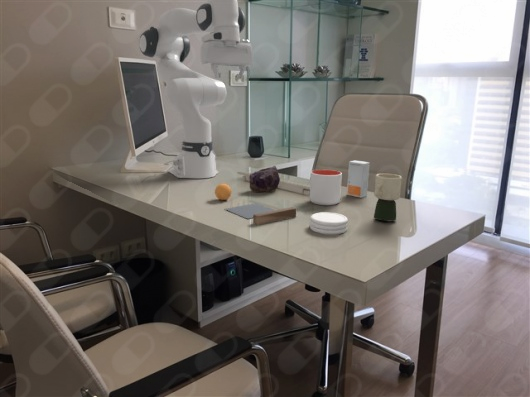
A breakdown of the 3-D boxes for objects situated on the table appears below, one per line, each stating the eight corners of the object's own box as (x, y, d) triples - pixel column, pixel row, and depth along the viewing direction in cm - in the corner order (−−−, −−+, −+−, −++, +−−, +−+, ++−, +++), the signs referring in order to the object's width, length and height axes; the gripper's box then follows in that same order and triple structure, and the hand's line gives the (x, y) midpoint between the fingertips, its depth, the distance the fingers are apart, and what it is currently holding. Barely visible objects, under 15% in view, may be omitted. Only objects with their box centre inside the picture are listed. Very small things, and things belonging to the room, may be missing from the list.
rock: (247, 193, 160) (264, 198, 152) (244, 170, 157) (260, 174, 149) (272, 184, 166) (289, 189, 158) (270, 162, 163) (287, 166, 156)
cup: (322, 196, 152) (323, 168, 149) (346, 202, 145) (348, 172, 142) (303, 201, 145) (304, 172, 142) (327, 208, 138) (329, 176, 135)
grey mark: (224, 209, 134) (224, 208, 134) (256, 203, 141) (256, 203, 141) (247, 219, 125) (247, 218, 125) (280, 212, 132) (280, 211, 132)
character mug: (384, 213, 133) (388, 171, 129) (405, 219, 128) (410, 175, 124) (363, 220, 126) (366, 176, 122) (384, 226, 120) (389, 180, 117)
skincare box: (346, 195, 155) (348, 161, 152) (352, 193, 158) (354, 160, 155) (361, 198, 151) (363, 163, 148) (367, 196, 154) (370, 162, 151)
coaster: (322, 221, 125) (323, 209, 124) (353, 229, 119) (354, 216, 118) (302, 229, 118) (302, 217, 117) (334, 238, 111) (335, 225, 111)
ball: (211, 199, 146) (211, 183, 144) (225, 197, 149) (225, 181, 147) (220, 202, 141) (220, 186, 140) (234, 200, 145) (234, 184, 143)
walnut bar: (253, 223, 121) (253, 214, 121) (291, 215, 130) (291, 206, 129) (257, 225, 120) (257, 216, 119) (295, 216, 128) (296, 208, 127)
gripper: (246, 41, 162) (247, 80, 164) (197, 36, 149) (199, 78, 152) (256, 38, 157) (258, 78, 159) (206, 33, 144) (209, 77, 147)
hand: (229, 78), depth 155 cm, fingers open, 8 cm apart
